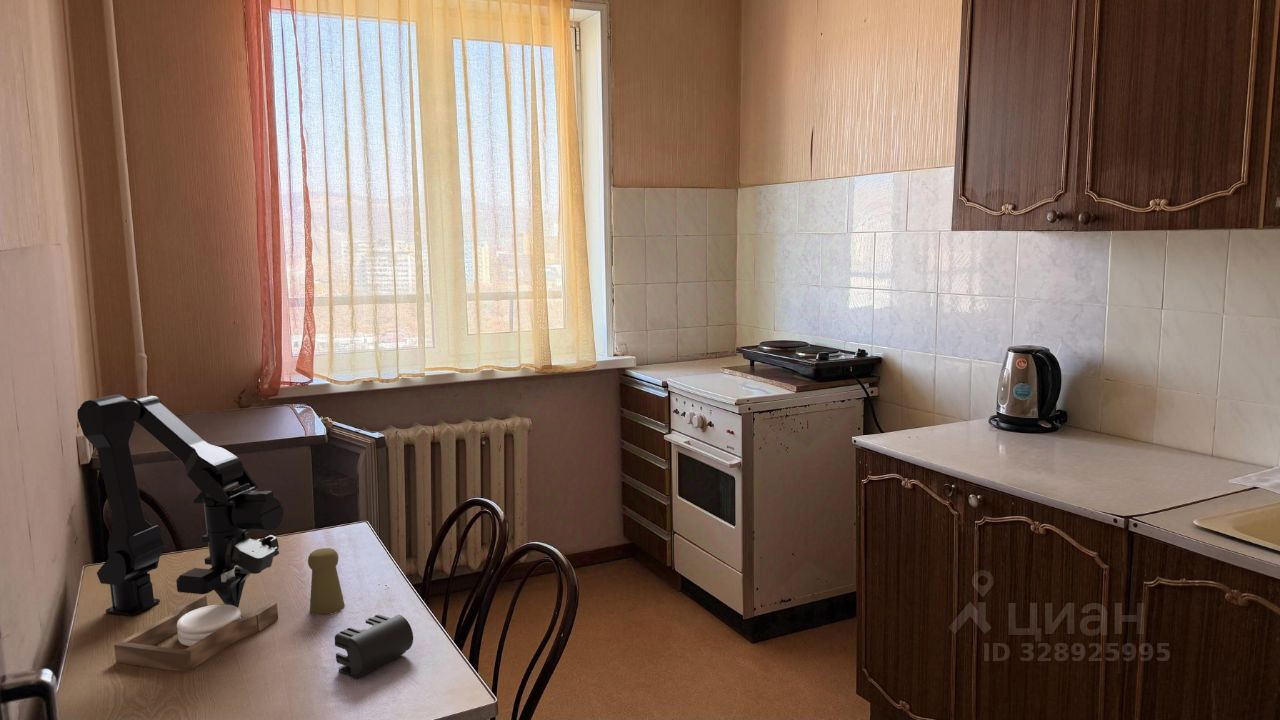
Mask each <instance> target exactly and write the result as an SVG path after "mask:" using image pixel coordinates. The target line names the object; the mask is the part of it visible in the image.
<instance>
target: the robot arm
mask: <svg viewBox="0 0 1280 720" xmlns="http://www.w3.org/2000/svg"><path fill="white" fill-rule="evenodd" d="M76 416H77V420H78V423H79V427H80V428H81V432H82V434H83V437H84V438H86V439H87V440H88V441H89V442H90V443H91V445H92V446H93V447H95V448H96V450H97V456H98V461H99V466H100V468H101V469H100V470H101V474H102V479H103V484H104V488H105V492H106V497H107V502H108V506H109V512H110V516H111V521H112V529H111V532H110V535H109V538H108V540H107V543H106V544H107V557H108V558H107V559H106V561H105V562H104V563H103V564H102V565H101V566H100V568H99V569H98V570H97V571H96V575H97V578H98V581H99V582H100V584H103V585H109V586H110V595H111V604H112V606H111V607H108V608H106V609H105V613H106V614H114V615H122V616H128V617H129V616H130V617H131V616H132V617H133V616H135V615H138V614H139V613H141V612H144V611H145V610H147V609H149V608H151V607H153V606H155V605H157V604H159V603H160V602H161V600H160V598H155V596H154V589H153V582H152V581H151V574H150V572H151V571H153V570H156V569H158V567H159V562H160V558H161V557H162V555H163V552H164V551H163V547H165V543H164V541H163V539H162V533H161V532H162V530H161V528H160V526H159V525H158V524H157V525H154V526H153V525H152V524H151V523H150V522H149V521H148V520H147V519H146V518H145V516H144V510H143V505H142V501H141V497H140V496H141V495H140V491H139V486H138V482H137V478H136V477H137V476H136V473H135V467H134V463H133V458H132V452H131V449H130V443H129V442H130V439H131V437H132V435H133V431H134V428H135V422H136V423H137V424H138V425H139V426H140V427H142V428H143V429H144V430H145V431H147V433H149V434H150V435H151V436H152V437H153V438H155V439H154V440H156V441H157V442H159V444H161V445H163V447H165V448H166V449H167V450H168V451H169V452H170V453H171V454H173V455H174V456H175V457H176V458H177V459H178V460H179V461H181V463H182V465H184V469H185V473H186V476H187V477H188V478H189V480H190V481H191V482H192V483H193V484H194V486H195V487H196V488H197V489H198V490H199V491H200V492H199V494H198V495H196V496H195V497H194V498H193V499H192V503H193V504H196V505H198V504H199V505H200V504H201V505H203V508H204V515H205V518H204V519H205V525H206V526H205V527H206V534H204V535H202V536H201V541H202V543H207V544H208V551H209V556H207V557H205V558H204V559H203V560H204V565H208V566H210V565H211V567H210V568H202V567H201V568H199V567H194V568H191V569H190V570H188V571H186V572H184V573H182V574H180V575H179V576H178V577H177V578H176V580H175V581H176V589H177V593H184V594H197V595H206V594H209V593H210V592H213V591H214V592H215V593H216V594H217V595H218V597H219V598H220V600H221V601H222V602H223V604H227V605H233V606H236V607H238V608H239V607H240V606H239V605H240V603H241V599H242V594H243V589H244V587H245V583H246V580H247V579H248V578H249V577H250V576H251V575H252V574H253V575H258V574H260V573H261V572H262V571H264V570H265V569H270V568H271V567H272V566H273V564H272V563H273V560H274V558H275V557H277V556H278V555H280V551H279V547H280V546H279V542H278V536H275V535H273V534H270V535H268V536H266V537H264V538H263V539H260V538H259V539H254V538H253V539H252V536H251V532H250V531H258V532H259V531H261V532H274V531H276V529H278V528H279V526H281V524H282V521H283V517H284V506H283V505H282V503H281V502H280V500H279V499H278V498H276V497H274V492H273V491H272V490H264V491H263V490H262V491H260V490H259V486H258V485H257V483H256V482H255V481H254V479H253V478H252V477H251V475H250V473H248V471H247V469H246V468H245V467H244V464H243V462H242V461H241V459H240V458H239V457H238V456H236V455H235V454H233V453H232V452H230V451H228V450H227V449H225V448H223V447H220V446H217V445H214V444H210V443H209V442H207V441H205V440H204V439H202V438H201V436H199V435H198V434H197V433H196V432H195V431H194V430H192V429H191V428H190V427H189V426H187V425H186V423H185V422H183V421H182V420H181V419H180V418H179V417H177V416H176V415H175V413H173V412H172V411H170V410H169V409H168V408H167V407H166V406H164V405H163V403H162V400H161V399H160V398H159V397H158V396H155V395H152V394H149V395H148V394H147V395H144V396H134V397H127V398H126V397H125V396H124V395H122V394H119V393H118V394H116V393H115V394H111V395H107V396H106V395H105V396H102V397H96V398H93V399H89V400H86V401H83V402H82V403H81V404H80V407H79V408H78V409H77V415H76ZM236 485H237V486H236ZM233 486H235V487H233ZM231 487H233V488H231ZM230 488H231V489H230ZM226 489H227V490H226ZM257 490H259V491H257Z"/></svg>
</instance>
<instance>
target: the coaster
mask: <svg viewBox="0 0 1280 720" xmlns="http://www.w3.org/2000/svg"><path fill="white" fill-rule="evenodd" d="M241 614H242V611H241V609H240V608H239V607H236V606H233V605H227V604H224V603H223V604H222V603H221V604H212V605H207V606H206V607H202V608H198V609H195V610H193V611H190V612H188V613H186V614H185V615H183V616H182V617H181V618H180V619H179V620H178V622H177V628H178V630H177V635H178V636H177V640H178V642H179V643H180V644H181V645H183V646H186V647H190V646H192V645H193V644H195V643H197V642H198V641H200V640H202V639H203V638H205V637H207V636H208V635H210V634H212V633H213V632H215V631H217V630H219V629H220V628H222V627H224V626H225V625H227V624H229V623H230V622H232V621H234V620H237V619H240V618H242V616H241Z"/></svg>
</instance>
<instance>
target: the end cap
mask: <svg viewBox="0 0 1280 720" xmlns="http://www.w3.org/2000/svg"><path fill="white" fill-rule="evenodd" d="M365 624H367V625H371V626H372V627H370V628H367V629H357V628H354V627H347V629H344V630H341V631H340V632H338V633H336V634H335V635H334V646H335V647H336V648H337V647H338V648H340V649H343V650H345V652H346V653H347V655H345V654H343V653H340V652H336V653H335V661H336V663H337V664H340V665H341V666H339V667H338V673H340V674H342V675H344V676H347V677H350V678H352V679H359V678H361V677H362V676H364V675H366V674H368V673H370V672H372V671H373V670H375V669H378V668H380V667H383V666H384V665H385V664H388V663H389V662H391V661H393V660H395V659H396V658H399V657H401V656H402V655H403V654H405V653H406V652H407V651H409V650H411V648H412V645H413V643H414V634H413V633H414V632H413V629H412V627H411V624H410V623H409V621H408V620H407V619H406V618H405V616H403V615H401V614H396V615H394V616H392V617H388V616H385V615H381V614H376V615H374V616H372V617H369V618H368V619H366V620H365Z"/></svg>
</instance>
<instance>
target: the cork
mask: <svg viewBox="0 0 1280 720" xmlns="http://www.w3.org/2000/svg"><path fill="white" fill-rule="evenodd" d="M338 564H339V554H338V552H337V551H336V550H335V549H333V548H331V547H325V548H318V549H315V550H313V551H311V553H309V555H308V559H307V565H308V567H309V568H310V569H311V581H310V582H311V583H310V584H311V585H310V597H309V598H310V601H309V613H310V614H312V615H314V616H327V615H328V616H329V615H333V614H336V613H338V612H340V611H342V610H343V609H345V606H346V604H345V600H344V596H343V591H342V588H341V583H340V579H339V573H338V569H337V565H338Z"/></svg>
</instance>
